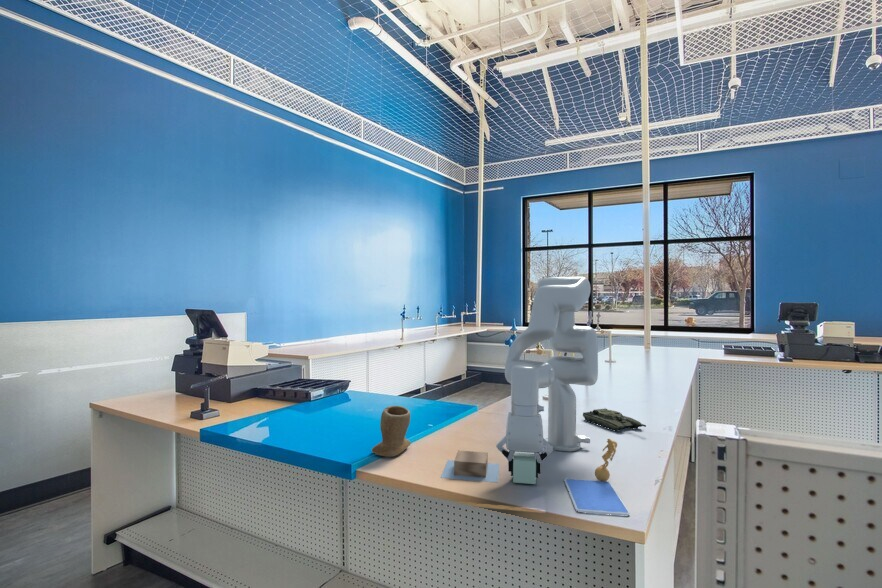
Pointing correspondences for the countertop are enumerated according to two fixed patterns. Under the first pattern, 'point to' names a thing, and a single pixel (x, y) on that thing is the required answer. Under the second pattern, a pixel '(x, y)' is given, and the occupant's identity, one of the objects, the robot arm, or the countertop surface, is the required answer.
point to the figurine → (602, 471)
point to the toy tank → (611, 419)
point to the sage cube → (524, 468)
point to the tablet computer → (595, 497)
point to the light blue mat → (490, 476)
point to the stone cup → (393, 431)
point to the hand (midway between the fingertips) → (524, 474)
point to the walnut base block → (471, 464)
